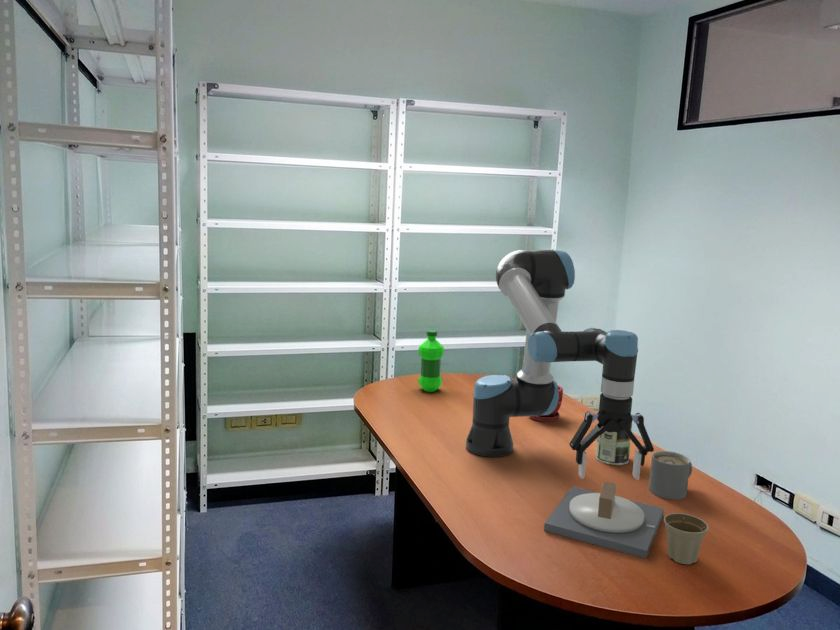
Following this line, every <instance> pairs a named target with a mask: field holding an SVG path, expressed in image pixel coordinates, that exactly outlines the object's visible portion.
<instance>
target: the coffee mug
mask: <svg viewBox="0 0 840 630" xmlns="http://www.w3.org/2000/svg"><path fill="white" fill-rule="evenodd" d="M692 471H693V463H692V461H691V459H690V458H689V457H687V455H684V454H683V453H682V454H681V453H680V452H679V453H678V452H675V451H667V450H659V451H655V452H654V451H653V453H652V454H651V462H650V473H649V483H648V484H649V485H648V491H649V492H650V493H652V494H653V495H655V496H656V497H659V498H662V499H666V500H683V499H685V498H686V497H687V495H688V485H689V478H690V477H691V475H692Z"/></svg>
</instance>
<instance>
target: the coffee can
mask: <svg viewBox="0 0 840 630" xmlns="http://www.w3.org/2000/svg"><path fill="white" fill-rule="evenodd" d="M597 421H598V420H597ZM598 422H599V421H598ZM598 422H597V423H598ZM633 422H634V421H633V420H632V421H631V422H630V423H629V425H628V428H629V429H630V430H631V431H632V427H633ZM631 442H632V440H631V439H630V438H629V437H628V435H627V434H626V433H625V431H624V430H623V431H622V432H621V433H617V432H607V431H605V432H604V433H603V434H601V435H600V436H599V437H598V438H597V439H596V446H595V447H596V449H595V456H594V457H596V458H595V459H596V460H597V461H598V460H599V461H598V462H601V463H602V462H603V463H602V464H605V463H606V464H605V465H610V464H611V466H623V465H624V466H625V465H627V464H629V462H630V450H631Z"/></svg>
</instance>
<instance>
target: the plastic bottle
mask: <svg viewBox="0 0 840 630" xmlns="http://www.w3.org/2000/svg"><path fill="white" fill-rule="evenodd" d="M426 336H427V339H426V340H424V342H422V343H421V344H420V345H419V347H418V352H417V353H418V356H419V357H420V358H421V361H420V362H421V364H420V366H421V367H420V375H419V378H418V379H417V381H418V386H420V388H422V389H423V391H424V392H428V393H429V392H430V393H433V392H436V391H437V390H438V389H439V388H440V387H441V386H442V384H443V379H442V378H443V377H442V376H441V361H442V360H441V359H442V357H444V355H445V348H444V345H442V344H441V343H440V342H439V341H438V340H437V336H438V331H437V330H434V329H427V330H426Z"/></svg>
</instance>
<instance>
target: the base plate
mask: <svg viewBox="0 0 840 630" xmlns="http://www.w3.org/2000/svg"><path fill="white" fill-rule="evenodd" d="M587 493H598V492H597V491H593V490H588V489H584V488H580V487H577V486H576V487H575V486H571V487H570V489H569V490H568V491H567V492H566V494H565V495H564V497H563V498H562V499H561V500H560V502H559V503H558V505H557V506H556V507H555V509H554V510H553V511H552V512H551V514H549V517H548V518H546V520H545V522H544V524H543V531H545V532H547V533H552V534H556V535H559V536H563V537H566V538H570V539H573V540H577V541H582V542H584V543H587V544H590V545H591V544H592V545H595V546H597V547H602V548H605V549H609V550H613V551H617V552H620V553H624V554H627V555H632V556H635V557H638V558H642V559H645V560H646V559H647V558H648V556H649V553H650V550H651V549H652V548H651V547H652V545H653V543H654V540H655V537H656V534H657V532H658V530H659V527H660V524H661V522H662V519H663V518H664V511H665V510H664V509H665V508H664V507H661V506H657V505H656V506H655V505H651V504H647V503H643V502H638V501H635V500H632V499H628V500H629V501H631V502H633V503H635V504H636V505H638V506H639V507H640V508H641V509H642V510H643V512H644V523H643V525H642V527H640V528H639V529H637V530H635V531H632V532H626V533H610V532H604V531H599V530H595V529H592V528H589V527H587V526H584V525H582V524H581V523H579V522H577V521H576V520H575V519H574V518H573V517H572V516H571V514H570V512H569V506H570V501H571V500H572V499H573V498H574V497H576V496H578V495H581V494H587Z"/></svg>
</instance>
